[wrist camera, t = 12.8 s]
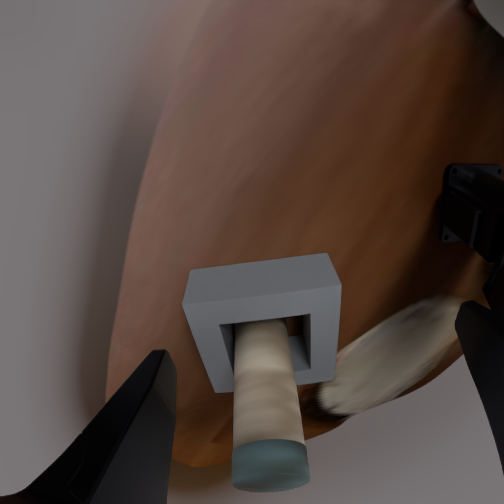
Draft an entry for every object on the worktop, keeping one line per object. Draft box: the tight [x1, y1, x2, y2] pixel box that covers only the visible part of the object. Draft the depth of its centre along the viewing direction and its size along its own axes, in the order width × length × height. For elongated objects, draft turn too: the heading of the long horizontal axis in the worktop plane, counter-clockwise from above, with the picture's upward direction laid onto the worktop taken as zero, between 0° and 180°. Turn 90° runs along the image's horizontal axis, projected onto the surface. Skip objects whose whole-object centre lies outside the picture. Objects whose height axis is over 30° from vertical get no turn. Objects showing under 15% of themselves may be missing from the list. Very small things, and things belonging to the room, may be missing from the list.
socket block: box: [182, 253, 342, 393], centre depth 22 cm, size 10×10×4 cm
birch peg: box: [232, 317, 310, 492], centre depth 18 cm, size 4×4×14 cm
